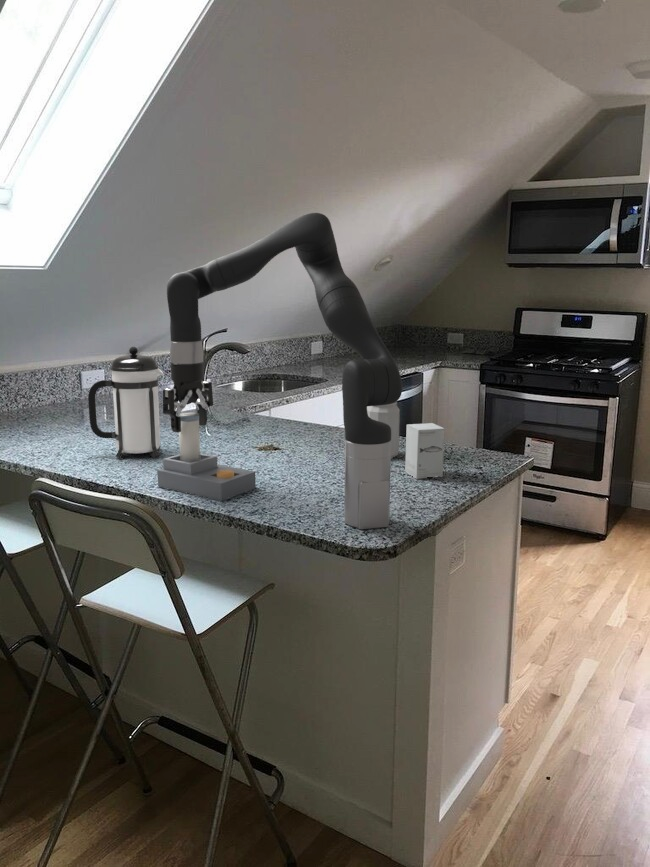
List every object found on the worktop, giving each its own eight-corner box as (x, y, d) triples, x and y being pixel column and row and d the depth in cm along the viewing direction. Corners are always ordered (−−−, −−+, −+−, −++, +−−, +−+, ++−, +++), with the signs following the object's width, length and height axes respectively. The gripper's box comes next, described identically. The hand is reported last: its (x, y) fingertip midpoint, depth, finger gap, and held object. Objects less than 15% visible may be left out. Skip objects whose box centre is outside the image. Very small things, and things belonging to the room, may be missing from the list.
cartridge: (202, 469, 175) (200, 415, 172) (181, 471, 174) (178, 417, 171) (199, 464, 180) (197, 412, 177) (179, 465, 178) (177, 413, 175)
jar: (401, 453, 208) (403, 389, 204) (395, 461, 199) (396, 395, 195) (367, 450, 210) (368, 388, 206) (359, 459, 201) (360, 393, 197)
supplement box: (416, 479, 181) (417, 429, 179) (404, 472, 188) (405, 423, 185) (443, 477, 183) (445, 427, 181) (431, 470, 190) (432, 422, 187)
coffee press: (142, 444, 217) (136, 342, 211) (177, 453, 207) (172, 346, 201) (90, 456, 204) (83, 347, 197) (125, 465, 194) (118, 351, 188)
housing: (255, 488, 174) (255, 461, 173) (221, 500, 164) (220, 472, 163) (193, 475, 185) (192, 449, 184) (158, 486, 175) (156, 460, 174)
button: (238, 488, 172) (237, 471, 171) (226, 492, 169) (226, 475, 168) (225, 485, 174) (224, 468, 173) (213, 489, 171) (213, 472, 170)
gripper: (196, 356, 179) (198, 421, 183) (152, 362, 167) (156, 432, 171) (219, 358, 175) (221, 425, 178) (176, 364, 163) (179, 436, 167)
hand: (189, 428), depth 175 cm, fingers open, 8 cm apart
